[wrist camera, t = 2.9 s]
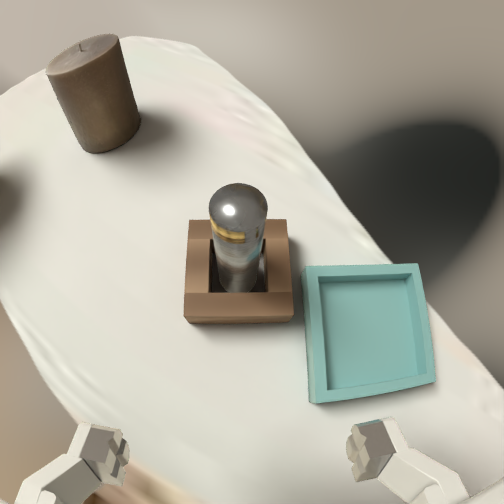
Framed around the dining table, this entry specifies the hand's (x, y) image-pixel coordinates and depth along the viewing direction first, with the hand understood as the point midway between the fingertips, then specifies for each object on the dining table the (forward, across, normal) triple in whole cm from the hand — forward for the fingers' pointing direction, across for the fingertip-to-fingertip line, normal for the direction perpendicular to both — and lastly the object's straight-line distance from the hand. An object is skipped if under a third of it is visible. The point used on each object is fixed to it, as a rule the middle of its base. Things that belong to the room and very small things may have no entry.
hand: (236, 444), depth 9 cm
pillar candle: (+36, +18, -12) cm, 42 cm away
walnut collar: (+20, 0, +3) cm, 21 cm away
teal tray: (+16, -12, +7) cm, 21 cm away
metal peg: (+20, 0, +3) cm, 21 cm away
